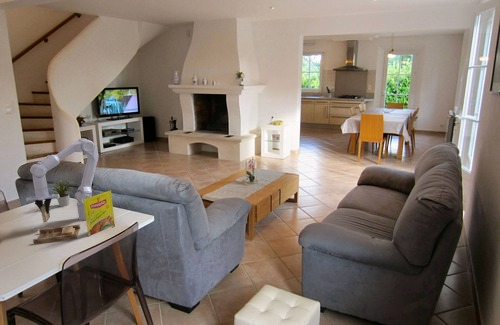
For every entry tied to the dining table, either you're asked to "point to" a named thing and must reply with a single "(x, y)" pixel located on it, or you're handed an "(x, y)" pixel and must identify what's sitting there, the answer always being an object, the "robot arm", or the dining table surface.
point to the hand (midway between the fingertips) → (45, 213)
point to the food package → (99, 212)
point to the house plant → (62, 193)
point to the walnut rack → (55, 234)
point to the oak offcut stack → (68, 231)
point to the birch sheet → (44, 214)
